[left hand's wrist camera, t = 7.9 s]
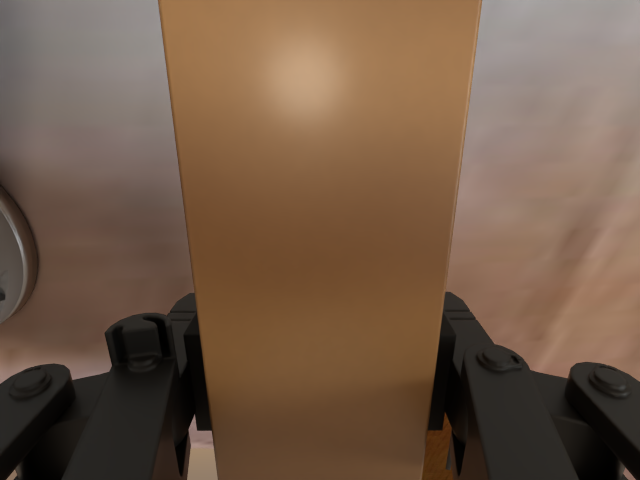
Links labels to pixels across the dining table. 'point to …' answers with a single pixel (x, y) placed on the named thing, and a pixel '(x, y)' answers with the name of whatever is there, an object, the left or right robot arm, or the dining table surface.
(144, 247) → the dining table surface
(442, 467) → the disposable coffee cup
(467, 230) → the dining table surface
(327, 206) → the beam
